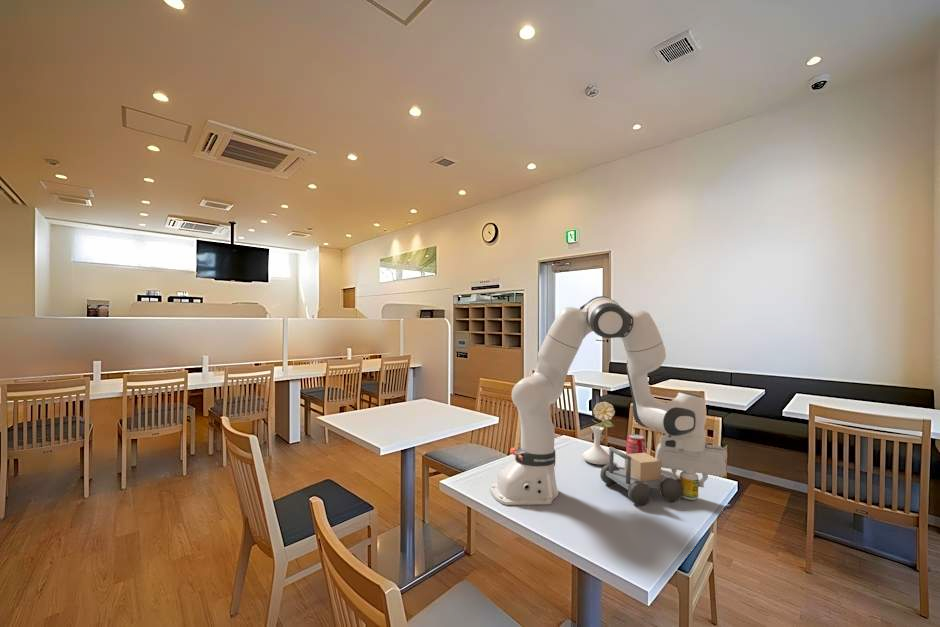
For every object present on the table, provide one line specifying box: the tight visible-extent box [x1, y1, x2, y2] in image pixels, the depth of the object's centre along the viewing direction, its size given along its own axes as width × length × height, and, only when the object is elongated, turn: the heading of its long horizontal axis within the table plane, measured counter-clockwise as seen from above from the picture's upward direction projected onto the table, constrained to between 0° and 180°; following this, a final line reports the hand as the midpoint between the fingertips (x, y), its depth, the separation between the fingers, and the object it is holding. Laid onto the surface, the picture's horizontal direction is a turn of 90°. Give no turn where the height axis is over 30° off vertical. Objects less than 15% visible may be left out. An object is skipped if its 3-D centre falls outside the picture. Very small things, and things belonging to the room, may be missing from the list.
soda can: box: [625, 433, 647, 454], centre depth 156 cm, size 7×7×12 cm
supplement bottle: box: [679, 469, 700, 501], centre depth 129 cm, size 5×5×10 cm
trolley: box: [600, 446, 683, 507], centre depth 133 cm, size 19×17×14 cm
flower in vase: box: [582, 401, 616, 466], centre depth 160 cm, size 13×11×25 cm
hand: (688, 484), depth 129 cm, fingers closed on supplement bottle, 5 cm apart
